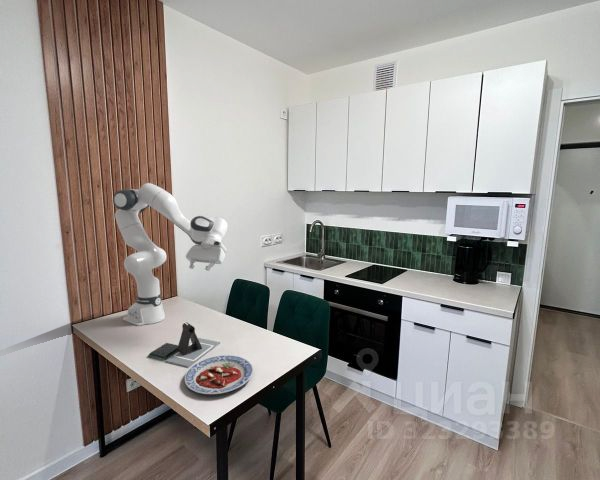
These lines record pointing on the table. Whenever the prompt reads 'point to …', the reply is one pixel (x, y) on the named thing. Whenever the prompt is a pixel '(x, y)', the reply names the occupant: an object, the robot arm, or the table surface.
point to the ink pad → (164, 351)
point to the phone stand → (184, 340)
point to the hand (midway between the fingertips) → (198, 269)
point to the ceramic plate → (218, 374)
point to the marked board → (193, 354)
